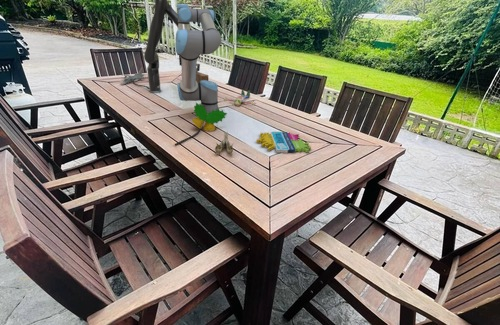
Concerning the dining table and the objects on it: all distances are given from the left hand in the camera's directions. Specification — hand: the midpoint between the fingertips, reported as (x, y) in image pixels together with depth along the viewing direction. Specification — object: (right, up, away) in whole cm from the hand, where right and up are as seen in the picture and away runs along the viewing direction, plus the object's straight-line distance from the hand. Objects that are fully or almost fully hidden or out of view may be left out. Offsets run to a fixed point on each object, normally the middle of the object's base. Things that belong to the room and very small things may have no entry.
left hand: (193, 76), depth 234 cm
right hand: (+6, -7, -48) cm, 49 cm away
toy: (+44, -26, -13) cm, 53 cm away
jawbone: (+38, -71, -95) cm, 125 cm away
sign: (+70, -66, -81) cm, 126 cm away
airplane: (-64, +4, +26) cm, 69 cm away
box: (+5, -10, -1) cm, 12 cm away
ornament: (+26, -56, -69) cm, 93 cm away
